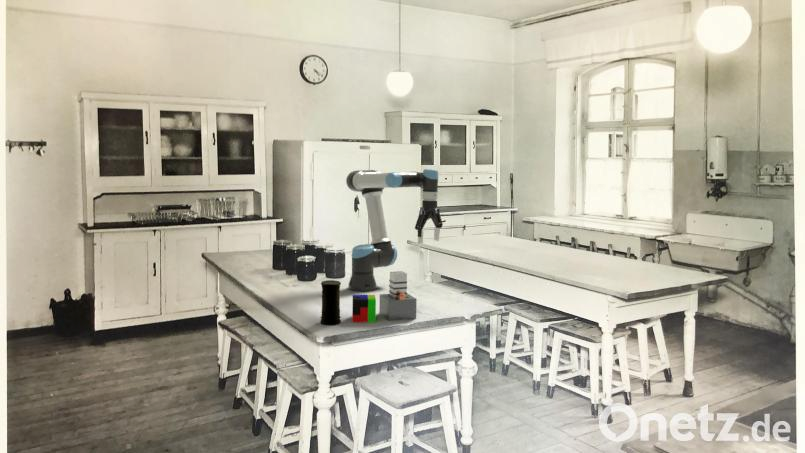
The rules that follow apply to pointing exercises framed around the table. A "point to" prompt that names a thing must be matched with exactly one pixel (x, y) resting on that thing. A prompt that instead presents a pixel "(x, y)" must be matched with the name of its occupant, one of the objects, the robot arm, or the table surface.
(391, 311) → the housing
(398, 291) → the column
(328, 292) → the container
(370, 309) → the puzzle toy
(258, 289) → the table surface
